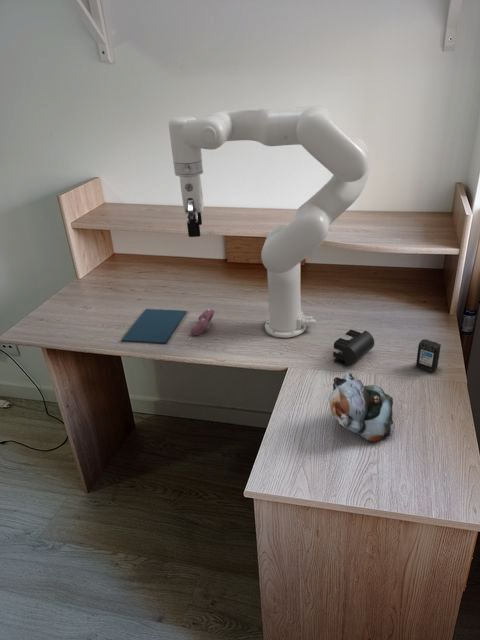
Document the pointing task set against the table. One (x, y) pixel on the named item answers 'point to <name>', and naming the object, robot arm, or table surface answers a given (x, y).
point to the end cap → (352, 347)
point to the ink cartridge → (428, 355)
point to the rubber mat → (154, 326)
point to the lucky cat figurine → (362, 408)
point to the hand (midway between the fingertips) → (195, 230)
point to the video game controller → (203, 322)
